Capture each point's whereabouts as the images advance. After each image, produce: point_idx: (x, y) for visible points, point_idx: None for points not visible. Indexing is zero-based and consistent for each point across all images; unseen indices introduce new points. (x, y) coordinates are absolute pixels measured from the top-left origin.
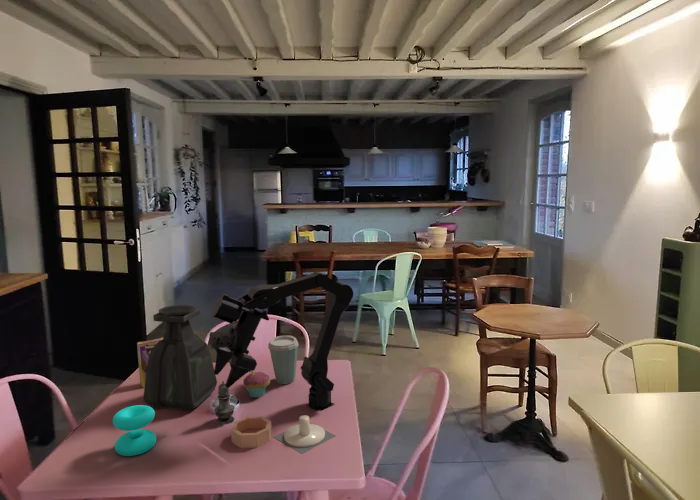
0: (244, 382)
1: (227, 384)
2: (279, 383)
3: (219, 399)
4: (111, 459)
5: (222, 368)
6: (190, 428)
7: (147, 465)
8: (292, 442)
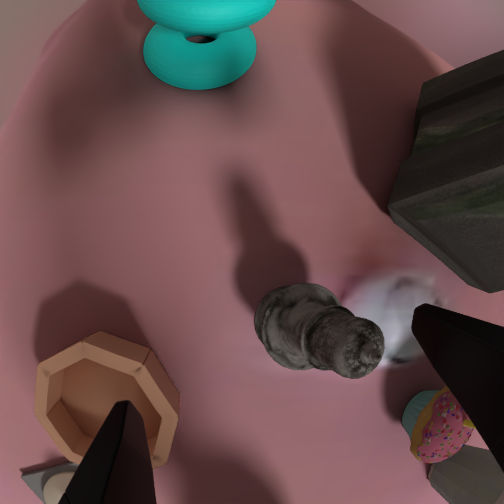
0: (450, 392)
1: (107, 425)
2: None
3: (315, 314)
4: None
5: (445, 380)
6: (266, 194)
7: (88, 86)
8: (52, 481)
